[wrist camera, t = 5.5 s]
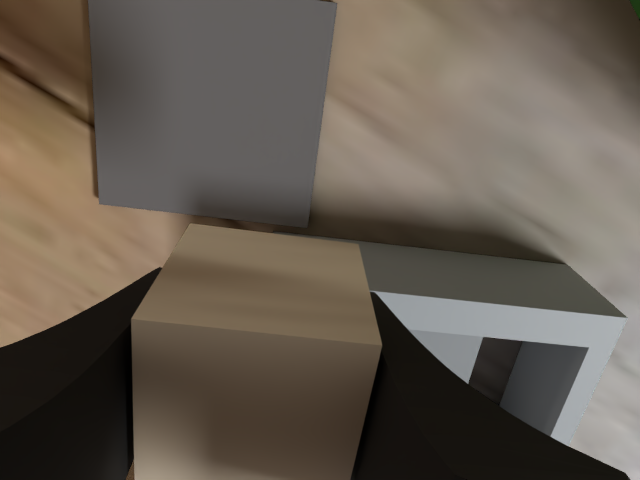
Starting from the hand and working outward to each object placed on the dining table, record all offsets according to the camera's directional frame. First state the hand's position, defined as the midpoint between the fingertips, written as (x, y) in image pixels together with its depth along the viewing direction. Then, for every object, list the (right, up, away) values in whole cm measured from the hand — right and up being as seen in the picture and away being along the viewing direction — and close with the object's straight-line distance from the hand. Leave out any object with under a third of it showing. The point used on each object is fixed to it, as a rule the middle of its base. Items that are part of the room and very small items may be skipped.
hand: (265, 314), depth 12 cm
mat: (-3, +7, +8) cm, 11 cm away
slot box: (+6, -3, +12) cm, 14 cm away
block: (0, 0, 0) cm, 0 cm away
